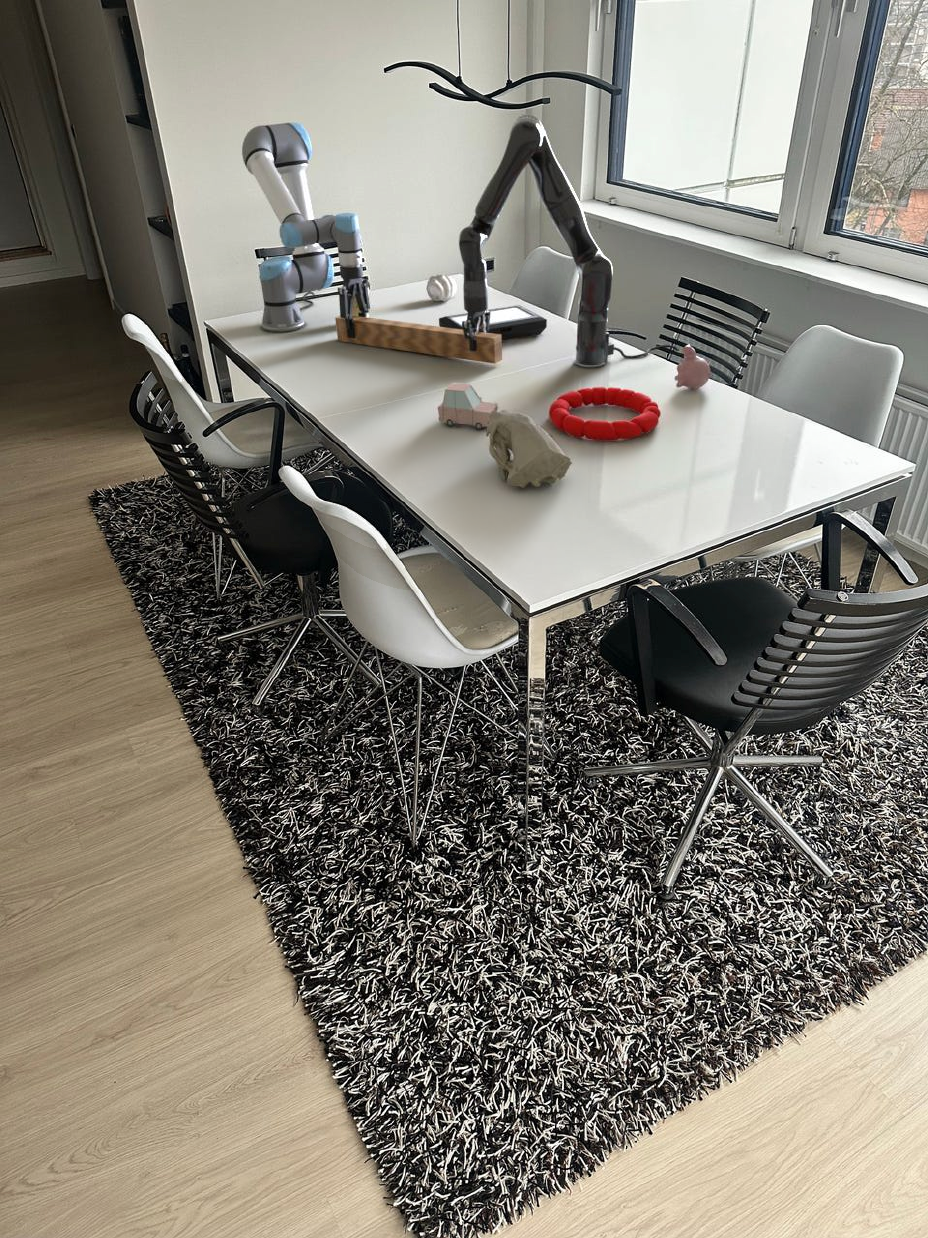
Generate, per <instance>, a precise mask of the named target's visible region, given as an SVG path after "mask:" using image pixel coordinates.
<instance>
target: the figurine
mask: <svg viewBox="0 0 928 1238" xmlns="http://www.w3.org/2000/svg"><path fill="white" fill-rule="evenodd" d="M682 354H683V358H684V359H683V361H682V362H679V363H678V364H677V365H676V372H677V375H675V376H674V381H675V382H676V381H677V382H676V384H675V386H676V388H681V387H686V388H688V389H693V390H694V389H695V390H696V389H700V388H703V387H704V386H705V385H706V384H707V383H708V382H709V379H710V377H711V367H710V364H709V362H708V361H706V359H704V358H702V357H700V356H697V353H696V350H695V349H694V347H692V345H690V344H686V345H685V346H684V347H683V348H682Z"/></svg>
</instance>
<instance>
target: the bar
mask: <svg viewBox="0 0 928 1238" xmlns="http://www.w3.org/2000/svg"><path fill="white" fill-rule="evenodd" d="M352 318H353V320H354V330H355V338H349V337H348V335H347V328H346V322H345V319H344V318H341V317H340V315H339V316H336V317H334V320H335V327H336V336H337V342H342V343H349V344H357V345H363V346H364V345H365V346H371V347H379V348H385V349H392V350H399V351H405V352H413V353H418V354H419V353H420V354H426V355H434V356H441V357H448V358H453V359H460V360H467V361H475V362H481V363H488V364H497V363H499V362H500V361H503V346H502V345H503V343H502V342H503V341H502V339H501V335H500V334H493V333H485V332H477V336H476V345H477V350H476V351H475V352H473V351H470V348H469V347H470V346H469V339H465V336H464V332H463V330H461V329H453V328H445V327H440V326H439V325H429V324H422V323H421V324H420V323H412V322H405V321H398V320H389V319H383V318H382V319H381V318H374V317H368V318H367V317H359V316H352ZM472 333H473V334H474V332H472ZM467 334H468V333H467Z"/></svg>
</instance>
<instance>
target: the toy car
mask: <svg viewBox="0 0 928 1238" xmlns="http://www.w3.org/2000/svg"><path fill="white" fill-rule="evenodd" d="M498 409H499V404H498V403H497V402H490V401H489V402H487V401H483V397H481V396H480V395H479V394H478V393H477V391H476V390H475V389H474V386H472V384H469V383H459V382H451V383H450V384H449V385H448V386H447V387H446V388H445V389H444V394H443V399H442V403H440V404H439V405H438V406H437V413H438V421H439V422H443V423H446V425H447V426H448V427H452V426H454V425H455V424H461V425H469V426H473V427H475V429H476V430H479V431H480V430H481V429H483V428H485V427H486V428H487V423H488V422H490V414H491V413H492V412H496V411H499V410H498Z"/></svg>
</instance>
